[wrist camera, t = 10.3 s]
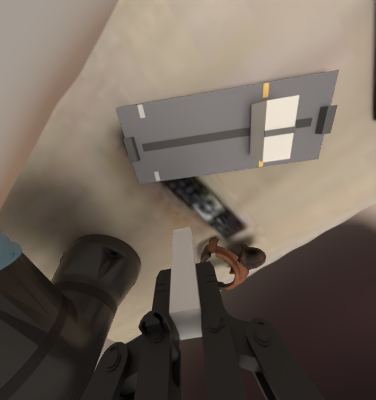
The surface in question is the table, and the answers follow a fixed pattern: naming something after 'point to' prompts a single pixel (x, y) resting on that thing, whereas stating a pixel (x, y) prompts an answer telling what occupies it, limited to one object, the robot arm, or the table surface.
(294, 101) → the fader
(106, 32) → the table surface
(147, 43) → the table surface
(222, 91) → the grey slotted slider track
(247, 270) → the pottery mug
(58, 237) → the table surface
